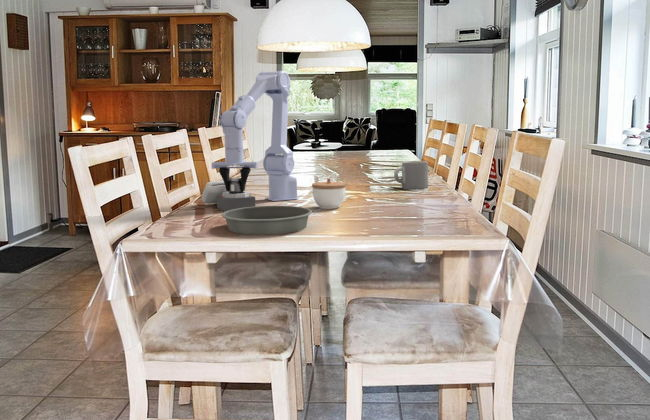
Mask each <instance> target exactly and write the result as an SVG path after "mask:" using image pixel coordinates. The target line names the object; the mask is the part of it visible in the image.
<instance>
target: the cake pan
mask: <svg viewBox="0 0 650 420" xmlns="http://www.w3.org/2000/svg"><path fill="white" fill-rule="evenodd" d="M312 213H313V211H312V210H311V209H310V208H307V207H302V206H295V205H257V206H256V205H255V207H245V208H238V209H233V210H229V211H226V212H225V211H223V212H222V213H221V218H224V219H225V222H226V225H227V228H228V230H229V232H232V231H233V233H236V234H242V233H243V234H244V235H256V234H266V235H278V234H277V233H282V234H289V233H288V232H290V233H295V231H296V232H300V231H303V230H305V229H306V228H307V226H308V221H309V216H310V215H312ZM304 228H305V229H304ZM302 229H303V230H302ZM299 230H300V231H299ZM243 234H242V235H243Z"/></svg>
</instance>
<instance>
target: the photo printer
mask: <svg viewBox="0 0 650 420" xmlns="http://www.w3.org/2000/svg"><path fill="white" fill-rule="evenodd" d="M224 192H229V191H226V187H225V184H224V181H223V179H222V180H214V181H209V182H206V184H205V187H204V188H203V192H202V195H201V201H202V203H203V204H205V205H210V204H212V205H213V204H217V196H221V195H222V193H224Z"/></svg>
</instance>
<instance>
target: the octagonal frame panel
mask: <svg viewBox="0 0 650 420" xmlns="http://www.w3.org/2000/svg"><path fill="white" fill-rule="evenodd" d="M255 206H256V196H254V195H251V194H250V192H249V191H246V190H245V191H243V193H241V194H229V192H224V193H222V195H221V196H217V203H216V208H217V209H219V210H221V211H223V212H226V211H229V210H233V209H238V208H245V207H255Z"/></svg>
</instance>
